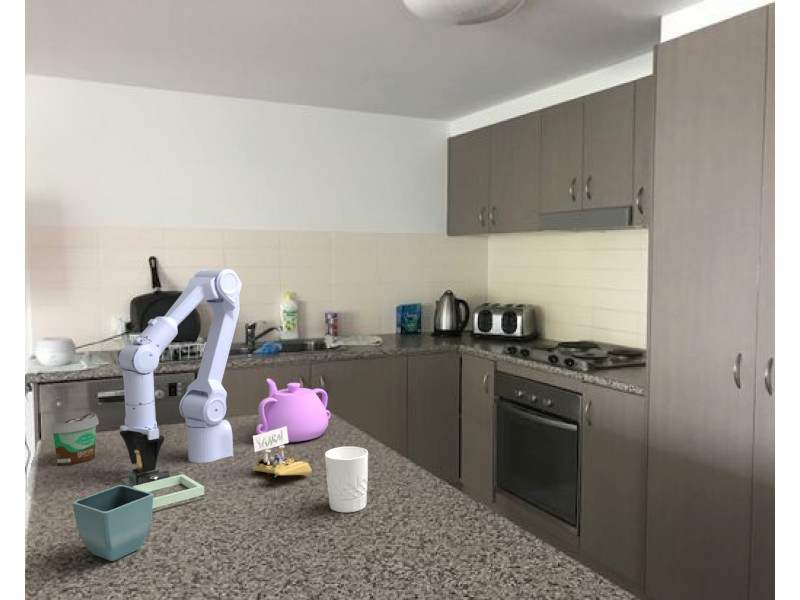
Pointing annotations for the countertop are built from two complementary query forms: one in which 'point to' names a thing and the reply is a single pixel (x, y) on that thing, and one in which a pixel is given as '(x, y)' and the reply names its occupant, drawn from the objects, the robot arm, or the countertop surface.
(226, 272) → the robot arm
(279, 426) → the teapot
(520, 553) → the countertop surface
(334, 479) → the white cup
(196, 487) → the tray
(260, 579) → the countertop surface
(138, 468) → the pin
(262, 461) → the figurine with sign
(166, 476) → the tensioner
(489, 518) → the countertop surface
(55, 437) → the food container
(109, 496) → the flower pot
